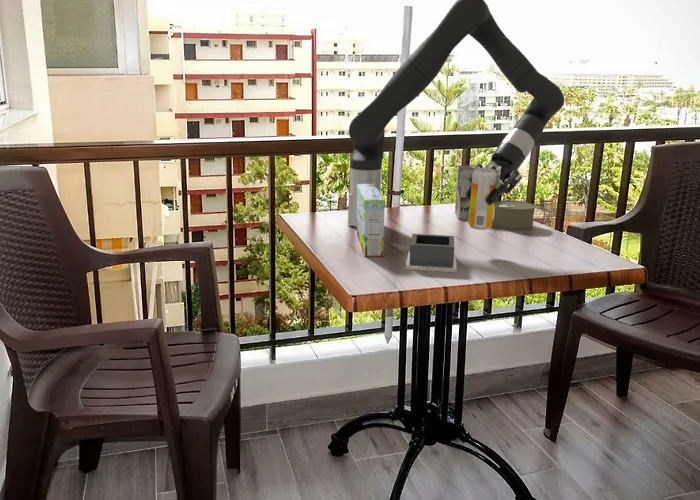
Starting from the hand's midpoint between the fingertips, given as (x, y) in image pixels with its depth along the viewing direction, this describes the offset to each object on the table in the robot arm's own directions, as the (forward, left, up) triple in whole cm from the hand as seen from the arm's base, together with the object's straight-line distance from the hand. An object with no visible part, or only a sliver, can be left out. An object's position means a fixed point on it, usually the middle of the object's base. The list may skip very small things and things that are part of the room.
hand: (477, 200), depth 166 cm
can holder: (-11, -10, -15) cm, 21 cm away
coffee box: (-1, +44, -15) cm, 46 cm away
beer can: (+1, +1, -8) cm, 8 cm away
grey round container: (+13, +34, -15) cm, 39 cm away
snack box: (-28, +3, -15) cm, 32 cm away
